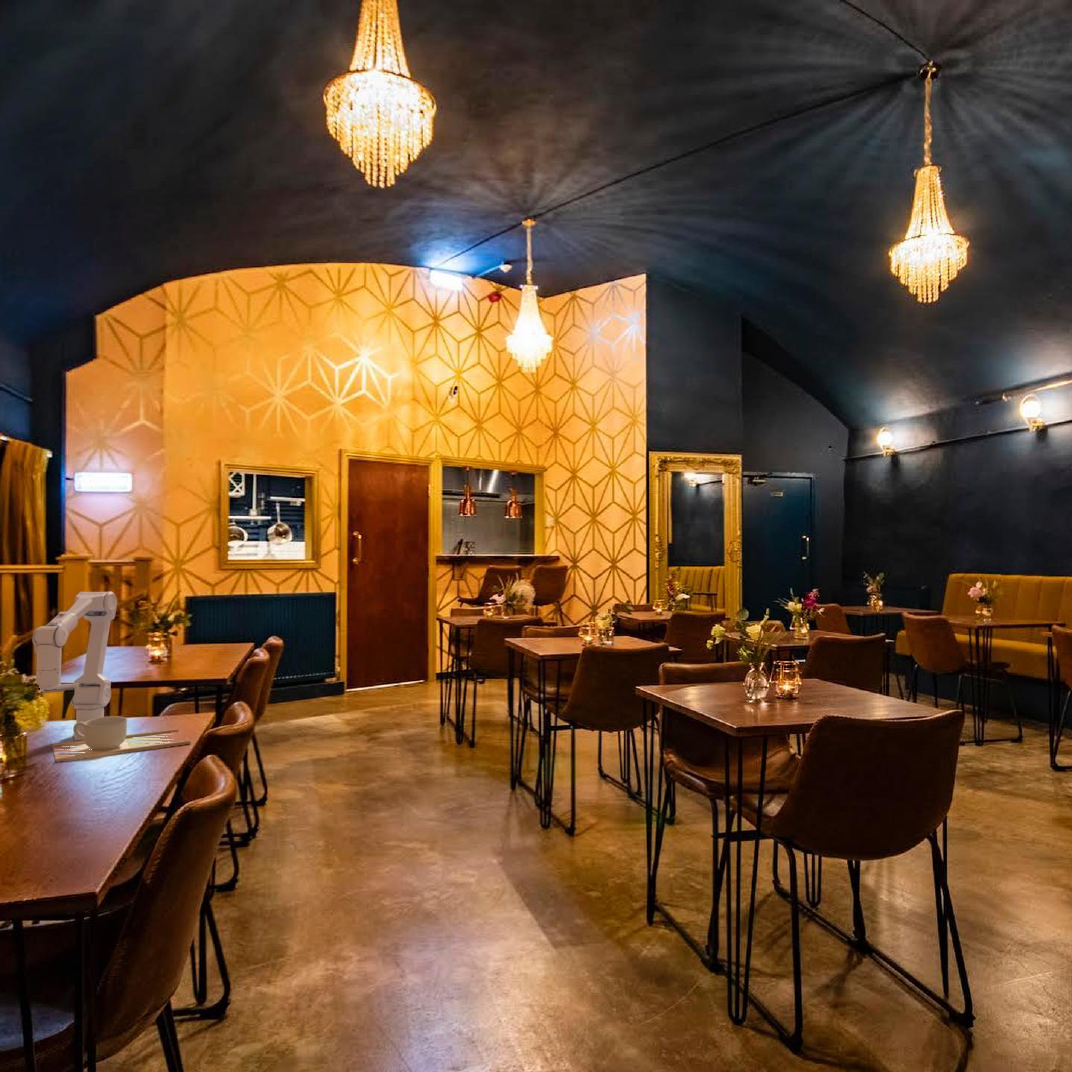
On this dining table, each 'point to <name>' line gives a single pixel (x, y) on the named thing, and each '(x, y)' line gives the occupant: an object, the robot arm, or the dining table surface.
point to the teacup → (103, 732)
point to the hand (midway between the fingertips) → (47, 719)
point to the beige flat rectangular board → (120, 749)
